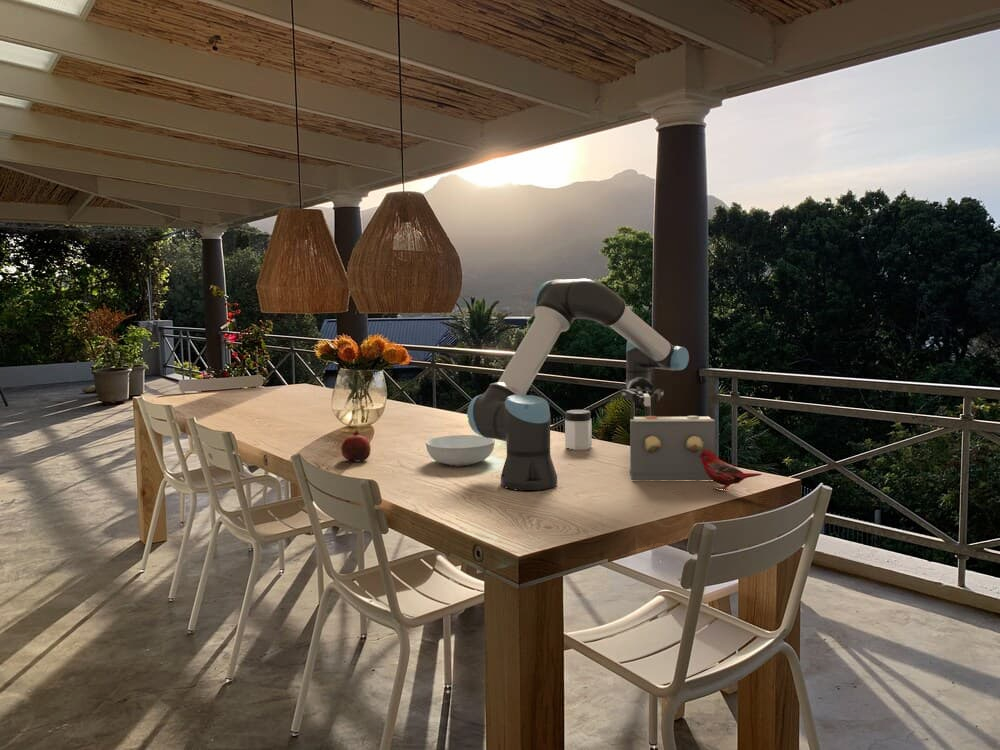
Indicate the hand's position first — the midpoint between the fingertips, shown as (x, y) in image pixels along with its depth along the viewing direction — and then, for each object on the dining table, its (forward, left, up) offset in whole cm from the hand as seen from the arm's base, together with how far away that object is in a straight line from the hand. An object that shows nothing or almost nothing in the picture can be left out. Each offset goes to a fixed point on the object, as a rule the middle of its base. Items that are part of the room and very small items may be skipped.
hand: (647, 401), depth 209 cm
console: (-9, -12, -19) cm, 24 cm away
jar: (+11, +30, -19) cm, 38 cm away
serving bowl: (-26, +49, -19) cm, 59 cm away
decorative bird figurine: (-14, -29, -19) cm, 38 cm away
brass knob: (-11, -6, -11) cm, 17 cm away
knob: (-5, -16, -11) cm, 20 cm away
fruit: (-42, +78, -19) cm, 91 cm away
